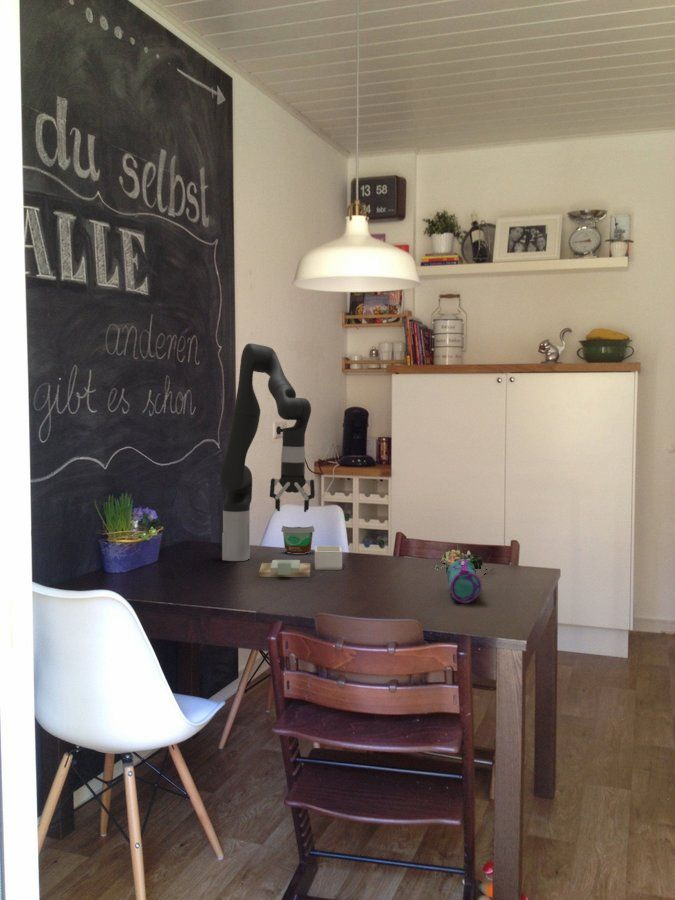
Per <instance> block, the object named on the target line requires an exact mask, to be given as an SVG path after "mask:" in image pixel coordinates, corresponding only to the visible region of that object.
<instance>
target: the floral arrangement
mask: <svg viewBox="0 0 675 900" xmlns="http://www.w3.org/2000/svg"><path fill="white" fill-rule="evenodd" d="M456 544H457V545H456V546H457V547H456V549H457V550H455V549H452V550H451V551H450V550H448V551H446V547H444V549H443V555H441V560H440V562H441V561H444V562H446V563H449V565H451V564H452V563H454V562H456V561H458V560H461V559H464V560H465V559H466V560H468V561H470V562H471V563H472V564H473V565H474V567H475V569H481V566H482V565H483V564H484V560H483V559H482V556H477V555H474V554H471V552H470V550H467V553H463V550H461V548H460V547H459V543H458V542H457V543H456ZM437 564H439V563H438V562H437V563H436V564H435V565H436V566H431V569H432V568H434V567H435V569H436V568H438V569H439V568H441V569H446V567H448V566H447V565H445V566H442V567H443V568H442V567H437ZM442 564H443V563H442ZM442 564H441V565H442ZM483 566H484V565H483ZM438 569H437V570H438Z"/></svg>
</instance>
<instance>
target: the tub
mask: <svg viewBox="0 0 675 900" xmlns="http://www.w3.org/2000/svg"><path fill="white" fill-rule="evenodd" d="M342 548H343V547H342V545H314V570H315V571H320V570H321V571H323V570H324V571H326V570H327V571H329V570H330V571H342V570H343V549H342Z"/></svg>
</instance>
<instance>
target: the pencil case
mask: <svg viewBox="0 0 675 900" xmlns="http://www.w3.org/2000/svg"><path fill="white" fill-rule="evenodd" d="M475 568H476V567H475V566H474V565H473V564H472V563H471V562H470V561H468V560H466V559H465V560H464V559H461V560H458V561H456V562H454V563H452V564H451V565H450V566H447V567H446V572H445V573H446V577H447V582H448V587H449V591H450V595H451V596H452V598H454V600H455V601H457V602H459V603H460V604H469V603H471V602H473V601H475V600H476V599H477V598H478V597H479V596H480V594H481V592H482V588H483V585H482V581H481V580H480V578H479V577H478V576H477V575H476V570H475Z"/></svg>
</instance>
